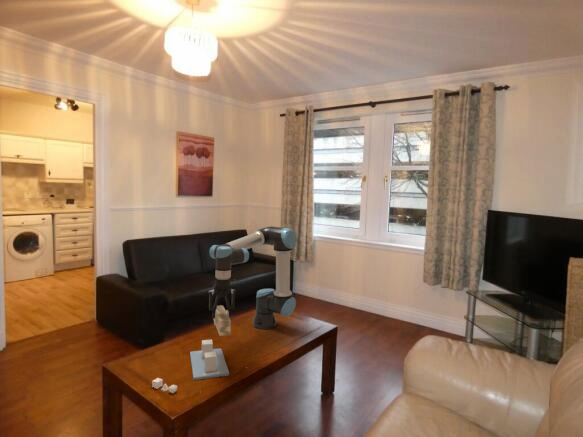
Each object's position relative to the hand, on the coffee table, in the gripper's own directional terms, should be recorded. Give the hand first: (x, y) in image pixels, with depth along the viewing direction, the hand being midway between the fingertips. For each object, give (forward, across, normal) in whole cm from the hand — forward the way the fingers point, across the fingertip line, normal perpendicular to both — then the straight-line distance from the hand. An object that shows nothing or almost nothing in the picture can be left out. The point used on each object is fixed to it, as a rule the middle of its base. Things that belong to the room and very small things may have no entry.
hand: (221, 323), depth 172 cm
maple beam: (+1, 0, 0) cm, 1 cm away
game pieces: (+20, -26, -18) cm, 37 cm away
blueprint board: (+20, -6, -1) cm, 20 cm away
